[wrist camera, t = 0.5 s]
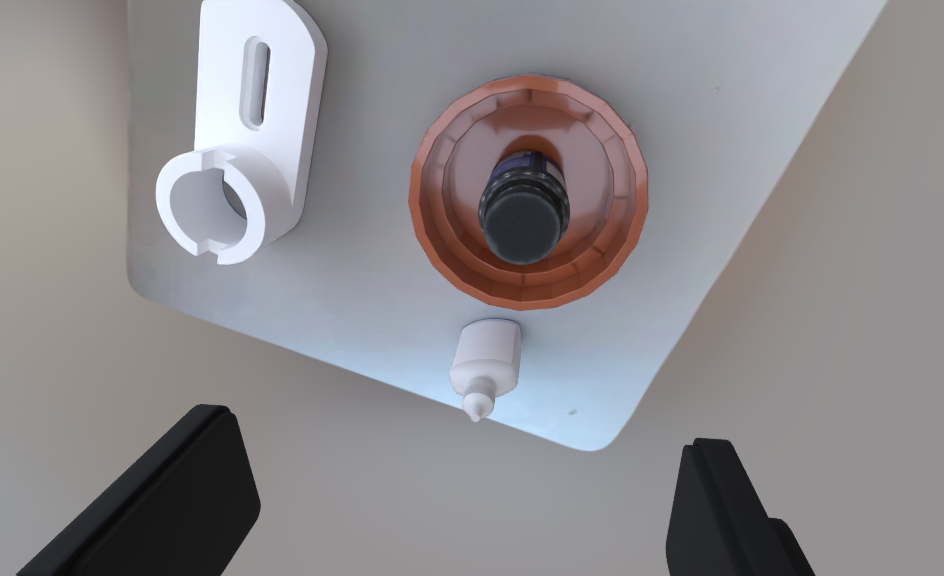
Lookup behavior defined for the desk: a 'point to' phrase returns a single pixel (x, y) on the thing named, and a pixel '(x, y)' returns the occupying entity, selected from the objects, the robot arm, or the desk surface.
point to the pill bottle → (524, 207)
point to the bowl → (586, 177)
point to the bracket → (247, 129)
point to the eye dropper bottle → (485, 364)
